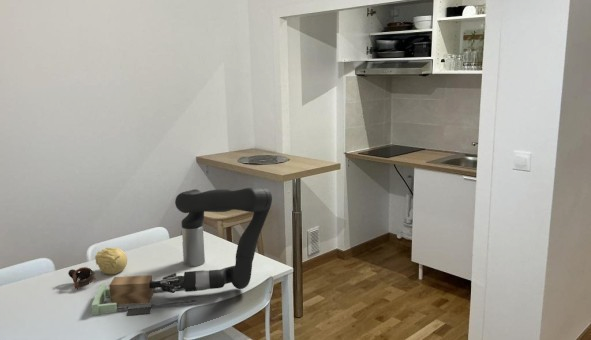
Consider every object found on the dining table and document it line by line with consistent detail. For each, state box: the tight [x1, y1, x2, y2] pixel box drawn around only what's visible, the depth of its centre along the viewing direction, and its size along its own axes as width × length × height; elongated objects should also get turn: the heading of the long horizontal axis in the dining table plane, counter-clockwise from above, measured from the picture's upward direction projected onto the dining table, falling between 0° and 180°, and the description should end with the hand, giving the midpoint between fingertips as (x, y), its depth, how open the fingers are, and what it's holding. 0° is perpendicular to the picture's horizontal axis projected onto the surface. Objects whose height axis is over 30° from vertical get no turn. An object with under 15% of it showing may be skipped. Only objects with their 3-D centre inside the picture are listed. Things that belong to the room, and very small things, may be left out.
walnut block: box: [108, 274, 154, 306], centre depth 182 cm, size 14×7×8 cm, turn 95°
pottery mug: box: [67, 266, 96, 290], centre depth 196 cm, size 12×10×8 cm
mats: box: [126, 288, 156, 317], centre depth 182 cm, size 8×22×1 cm, turn 11°
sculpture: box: [94, 247, 128, 275], centre depth 207 cm, size 12×12×11 cm
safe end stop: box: [91, 284, 118, 316], centre depth 180 cm, size 8×16×4 cm, turn 11°
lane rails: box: [116, 288, 197, 313], centre depth 183 cm, size 28×14×1 cm, turn 101°
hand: (150, 285), depth 181 cm, fingers closed
